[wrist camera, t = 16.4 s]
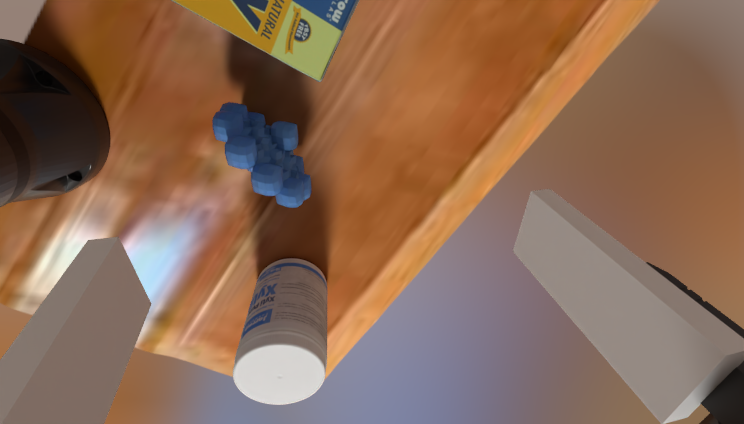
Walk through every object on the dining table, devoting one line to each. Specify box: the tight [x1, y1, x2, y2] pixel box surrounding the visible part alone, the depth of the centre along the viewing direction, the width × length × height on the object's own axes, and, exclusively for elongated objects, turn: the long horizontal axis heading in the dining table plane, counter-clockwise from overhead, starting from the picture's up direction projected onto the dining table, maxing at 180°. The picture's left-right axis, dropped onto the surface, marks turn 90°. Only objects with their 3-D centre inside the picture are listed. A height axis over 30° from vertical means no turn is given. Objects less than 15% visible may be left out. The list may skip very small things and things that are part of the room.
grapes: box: [213, 102, 311, 208], centre depth 34 cm, size 12×7×12 cm, turn 41°
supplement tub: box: [233, 258, 327, 405], centre depth 42 cm, size 10×10×15 cm
